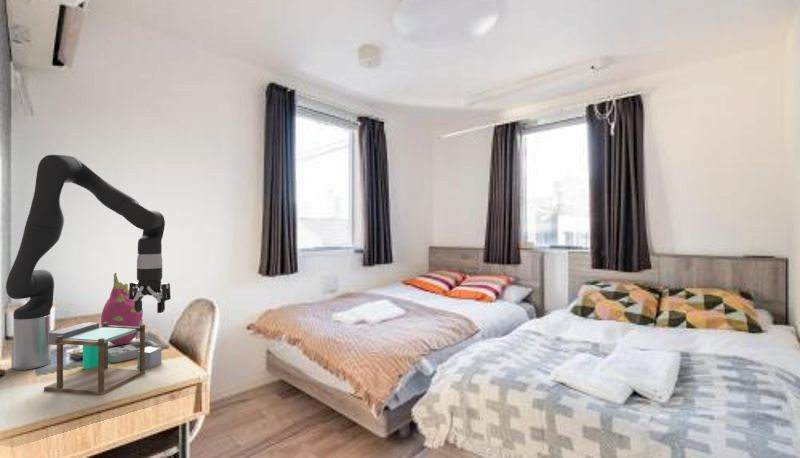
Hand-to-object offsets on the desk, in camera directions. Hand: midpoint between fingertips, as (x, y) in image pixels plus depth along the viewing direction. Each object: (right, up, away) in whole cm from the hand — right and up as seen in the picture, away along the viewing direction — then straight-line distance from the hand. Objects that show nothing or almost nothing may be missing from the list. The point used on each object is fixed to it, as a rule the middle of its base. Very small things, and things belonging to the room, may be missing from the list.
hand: (149, 311), depth 132 cm
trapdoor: (-8, -6, -14) cm, 17 cm away
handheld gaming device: (-13, -19, +9) cm, 25 cm away
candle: (-19, -19, -1) cm, 27 cm away
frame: (-7, -19, -14) cm, 25 cm away
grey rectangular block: (0, -19, 0) cm, 19 cm away
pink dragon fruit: (-25, -18, +20) cm, 37 cm away
